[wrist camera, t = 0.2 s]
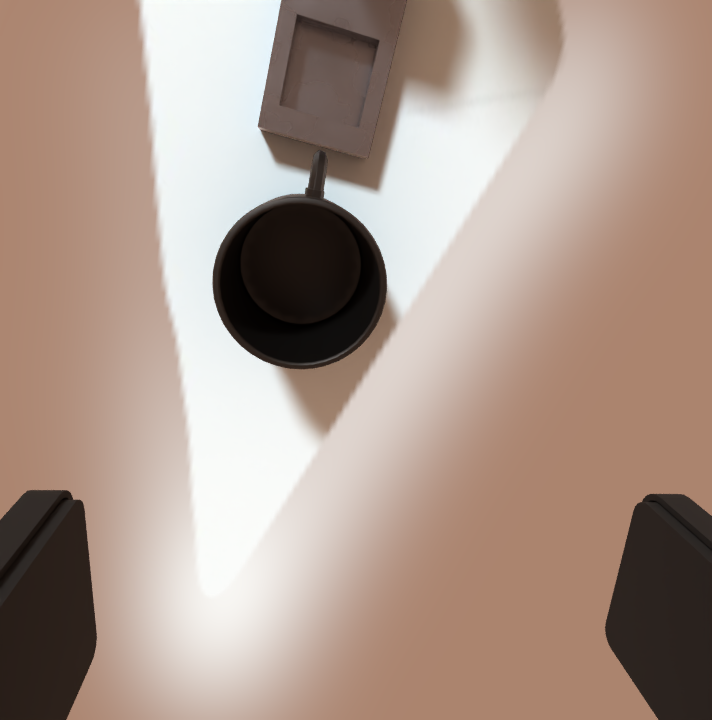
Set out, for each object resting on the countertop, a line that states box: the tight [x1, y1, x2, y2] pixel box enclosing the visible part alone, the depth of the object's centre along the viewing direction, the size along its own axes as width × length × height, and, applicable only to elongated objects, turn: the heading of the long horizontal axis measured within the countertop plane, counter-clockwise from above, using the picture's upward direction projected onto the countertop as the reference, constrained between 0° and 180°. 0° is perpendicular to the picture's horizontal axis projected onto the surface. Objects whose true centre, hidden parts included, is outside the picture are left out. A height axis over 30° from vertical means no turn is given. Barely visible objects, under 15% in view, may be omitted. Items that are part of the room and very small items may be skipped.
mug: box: [213, 150, 387, 369], centre depth 33 cm, size 9×12×9 cm
